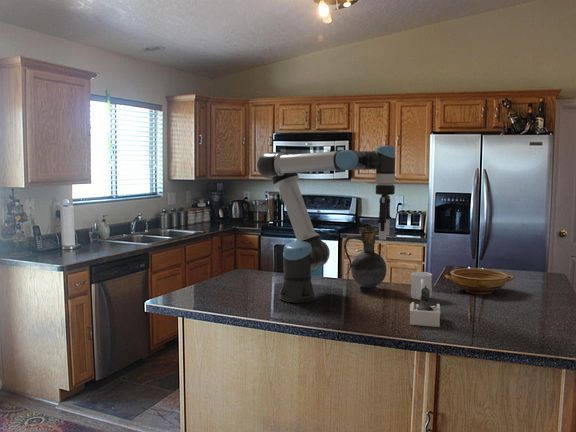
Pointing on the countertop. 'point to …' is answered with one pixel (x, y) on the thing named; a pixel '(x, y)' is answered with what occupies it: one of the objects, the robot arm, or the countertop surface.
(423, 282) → the mug
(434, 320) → the end holder
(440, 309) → the clip
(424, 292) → the grey tapered rounded piece
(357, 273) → the pitcher
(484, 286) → the ceramic bowl
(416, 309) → the clip
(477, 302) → the countertop surface
